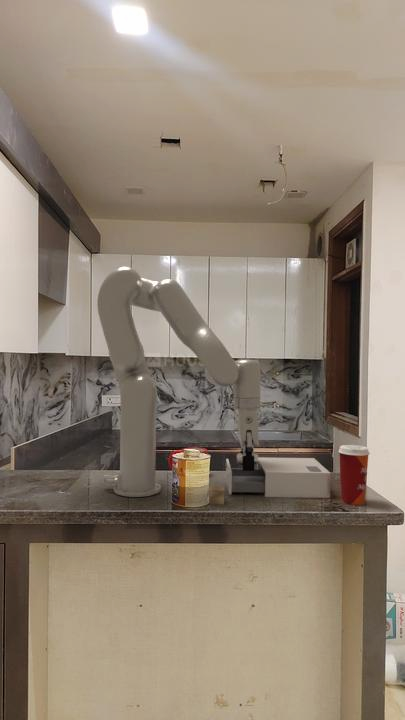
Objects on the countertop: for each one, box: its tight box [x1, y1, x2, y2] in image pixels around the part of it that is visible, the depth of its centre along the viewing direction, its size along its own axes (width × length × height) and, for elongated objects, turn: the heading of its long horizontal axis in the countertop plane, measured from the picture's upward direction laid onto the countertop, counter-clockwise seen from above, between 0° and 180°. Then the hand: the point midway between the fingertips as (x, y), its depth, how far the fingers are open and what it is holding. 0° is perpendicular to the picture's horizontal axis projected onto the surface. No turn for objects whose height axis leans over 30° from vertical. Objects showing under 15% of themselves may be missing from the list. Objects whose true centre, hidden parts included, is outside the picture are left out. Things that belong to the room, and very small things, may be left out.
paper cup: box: [337, 444, 371, 506], centre depth 120 cm, size 8×8×14 cm
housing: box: [256, 456, 331, 499], centre depth 132 cm, size 17×18×7 cm
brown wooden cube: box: [208, 485, 225, 506], centre depth 118 cm, size 4×4×4 cm
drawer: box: [224, 458, 265, 496], centre depth 132 cm, size 17×16×6 cm
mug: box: [168, 446, 208, 470], centre depth 145 cm, size 8×12×8 cm, turn 85°
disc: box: [236, 452, 259, 465], centre depth 132 cm, size 6×6×2 cm
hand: (247, 467), depth 132 cm, fingers closed on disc, 5 cm apart
